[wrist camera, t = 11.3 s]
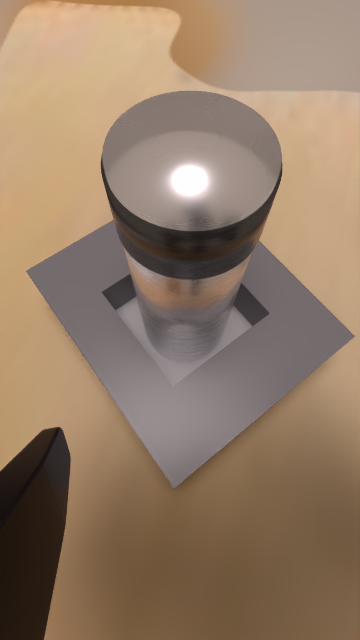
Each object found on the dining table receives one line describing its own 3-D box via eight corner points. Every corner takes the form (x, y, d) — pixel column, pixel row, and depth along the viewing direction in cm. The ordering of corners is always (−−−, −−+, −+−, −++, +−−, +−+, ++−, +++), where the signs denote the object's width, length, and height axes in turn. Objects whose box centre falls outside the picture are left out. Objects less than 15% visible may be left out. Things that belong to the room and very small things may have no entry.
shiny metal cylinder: (238, 306, 22) (310, 122, 10) (204, 378, 20) (242, 257, 8) (166, 274, 23) (153, 69, 11) (127, 340, 21) (61, 182, 9)
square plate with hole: (324, 357, 22) (355, 336, 18) (174, 483, 19) (173, 488, 15) (190, 214, 26) (192, 173, 22) (49, 301, 23) (25, 271, 20)
